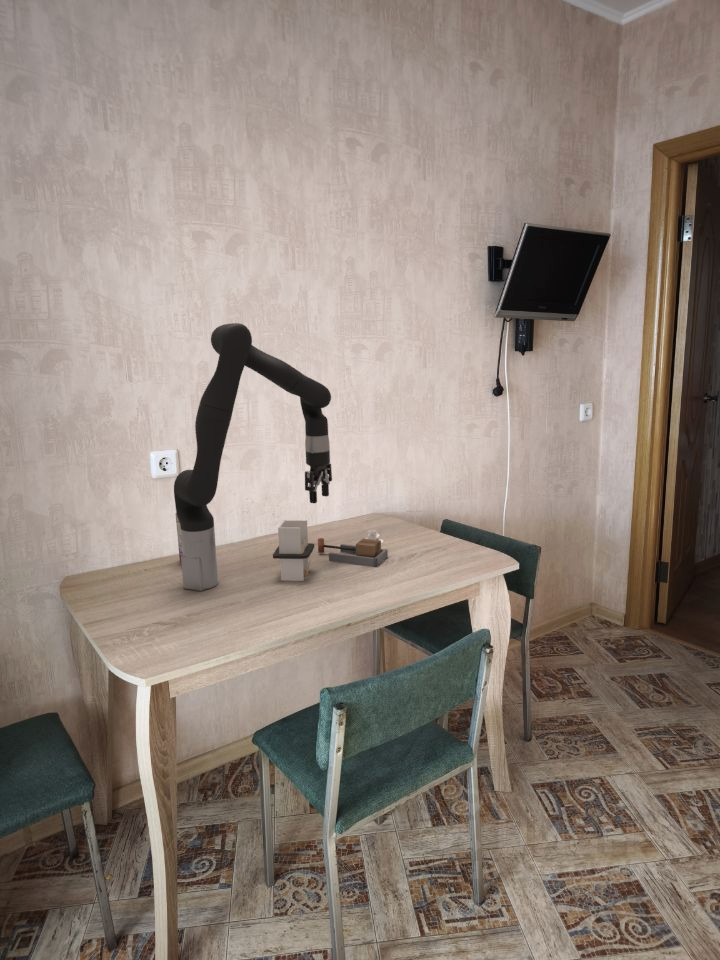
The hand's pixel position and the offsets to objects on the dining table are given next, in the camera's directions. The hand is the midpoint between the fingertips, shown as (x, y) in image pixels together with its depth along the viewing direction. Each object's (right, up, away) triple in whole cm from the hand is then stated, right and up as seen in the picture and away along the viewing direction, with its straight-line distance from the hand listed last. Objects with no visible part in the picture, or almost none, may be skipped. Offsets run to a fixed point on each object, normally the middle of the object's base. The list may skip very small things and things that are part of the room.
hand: (319, 499), depth 209 cm
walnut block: (+9, -19, +1) cm, 21 cm away
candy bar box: (-38, -20, -2) cm, 43 cm away
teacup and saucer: (+20, -15, +16) cm, 30 cm away
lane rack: (+12, -19, -1) cm, 22 cm away
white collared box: (-6, -23, -14) cm, 27 cm away
